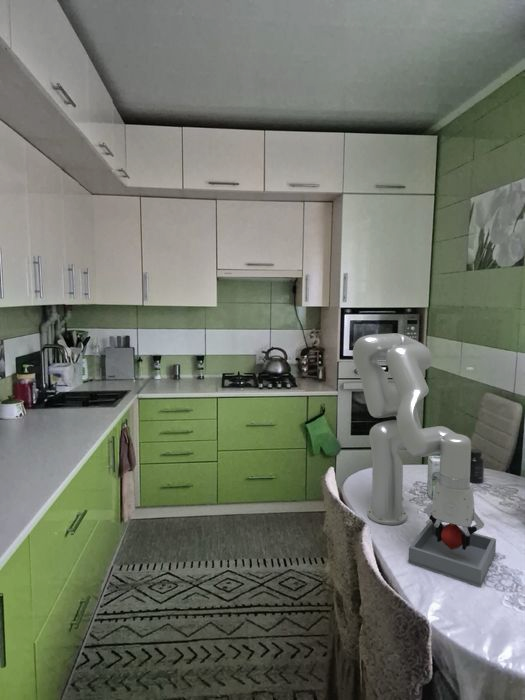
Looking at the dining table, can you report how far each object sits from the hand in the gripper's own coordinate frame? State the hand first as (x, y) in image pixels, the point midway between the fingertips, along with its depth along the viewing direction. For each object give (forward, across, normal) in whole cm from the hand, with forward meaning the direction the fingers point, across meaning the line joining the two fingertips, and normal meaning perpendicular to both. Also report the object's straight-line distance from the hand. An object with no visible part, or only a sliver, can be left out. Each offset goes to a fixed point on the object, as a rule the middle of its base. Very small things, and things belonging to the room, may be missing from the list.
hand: (452, 543), depth 125 cm
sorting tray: (+4, 0, 0) cm, 4 cm away
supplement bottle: (+5, -8, +60) cm, 61 cm away
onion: (+2, 0, 0) cm, 2 cm away
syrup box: (+5, -15, +37) cm, 40 cm away
